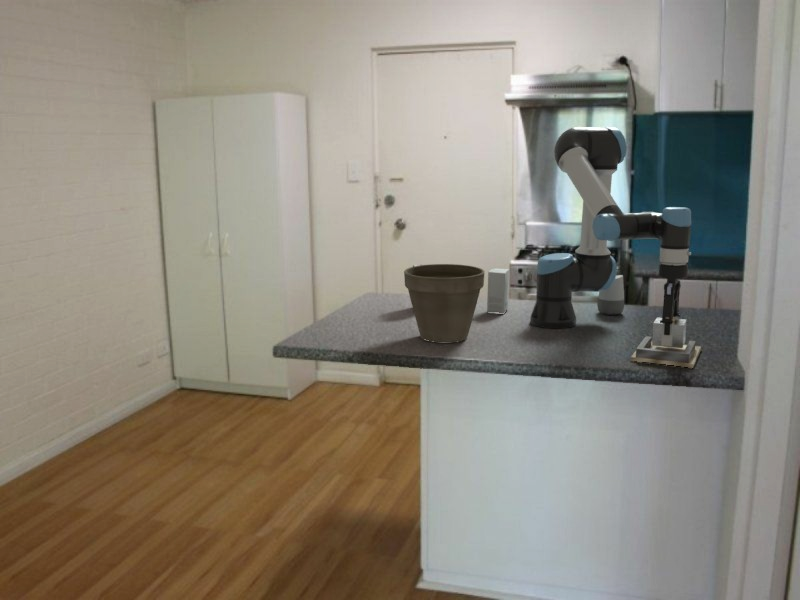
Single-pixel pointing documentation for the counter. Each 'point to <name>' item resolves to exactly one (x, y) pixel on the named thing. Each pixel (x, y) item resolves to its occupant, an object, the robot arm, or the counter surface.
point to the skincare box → (498, 290)
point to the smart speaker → (612, 298)
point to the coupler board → (690, 365)
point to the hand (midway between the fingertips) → (668, 342)
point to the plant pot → (444, 299)
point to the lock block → (678, 333)
